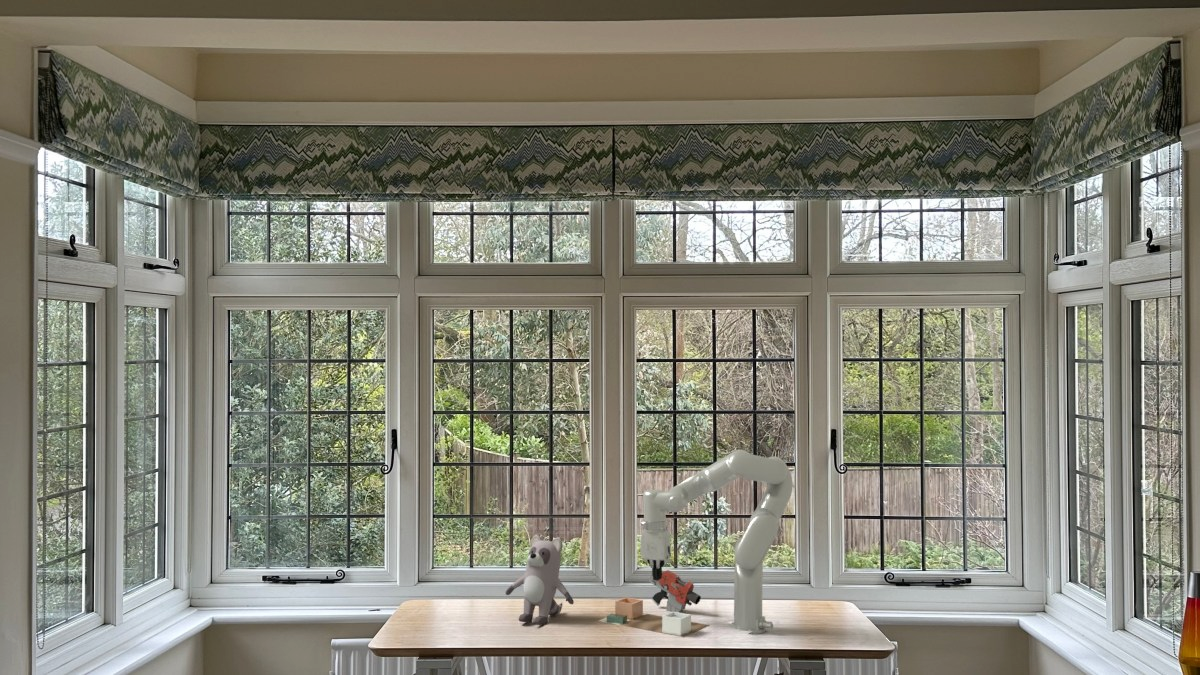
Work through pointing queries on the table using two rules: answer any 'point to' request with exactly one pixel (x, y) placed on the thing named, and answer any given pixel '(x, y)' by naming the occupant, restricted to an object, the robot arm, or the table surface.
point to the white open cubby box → (676, 623)
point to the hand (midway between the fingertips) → (657, 579)
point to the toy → (541, 580)
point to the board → (654, 624)
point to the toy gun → (674, 592)
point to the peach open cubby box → (629, 608)
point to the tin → (617, 618)
